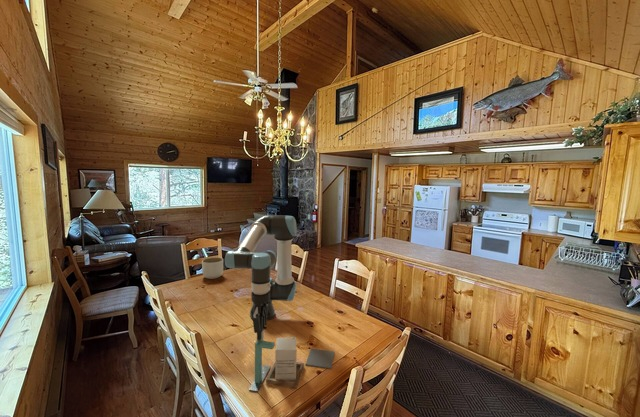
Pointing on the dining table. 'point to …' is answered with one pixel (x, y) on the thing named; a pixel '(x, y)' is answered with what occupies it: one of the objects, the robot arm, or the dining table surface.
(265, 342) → the teal bent bar
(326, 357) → the coaster
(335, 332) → the dining table surface
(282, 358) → the supplement box
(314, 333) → the dining table surface
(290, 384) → the frame
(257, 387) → the rail
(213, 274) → the planter
